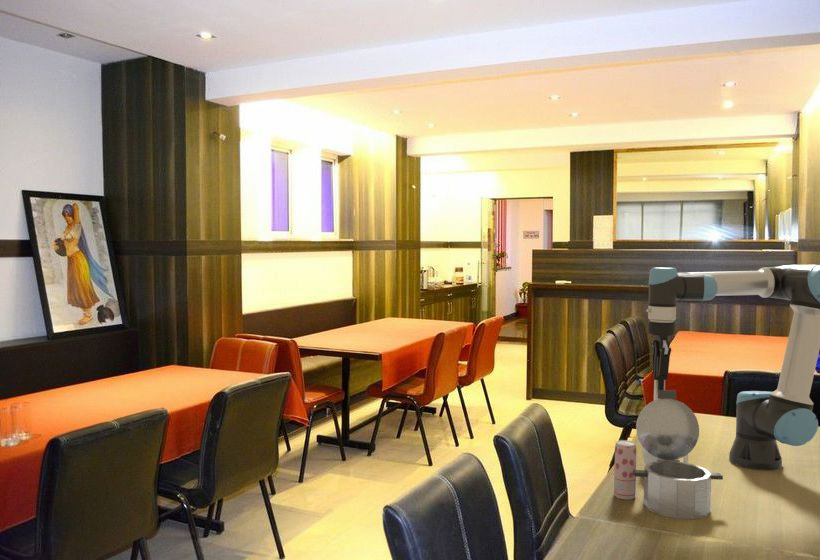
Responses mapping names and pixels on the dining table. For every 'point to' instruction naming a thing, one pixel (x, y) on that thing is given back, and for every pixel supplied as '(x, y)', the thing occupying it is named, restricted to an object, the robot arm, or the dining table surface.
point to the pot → (677, 489)
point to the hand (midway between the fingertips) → (659, 401)
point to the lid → (667, 427)
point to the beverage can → (625, 469)
